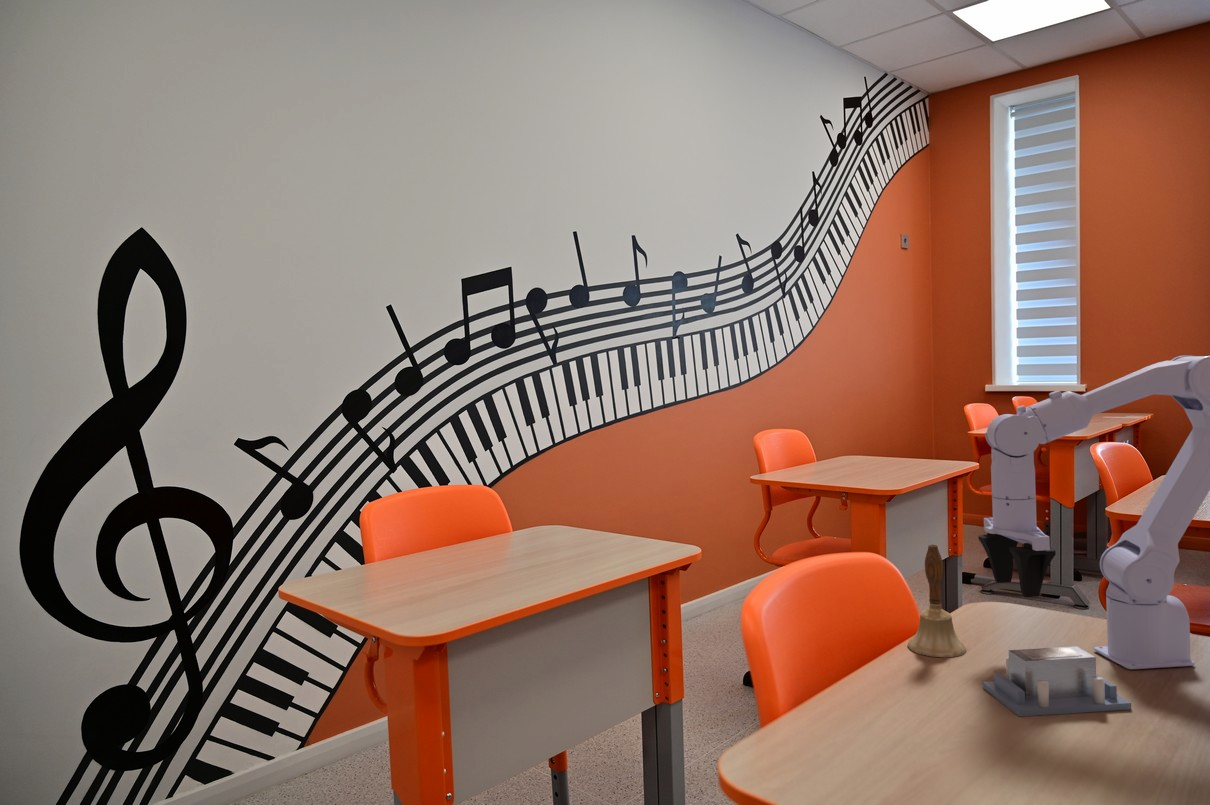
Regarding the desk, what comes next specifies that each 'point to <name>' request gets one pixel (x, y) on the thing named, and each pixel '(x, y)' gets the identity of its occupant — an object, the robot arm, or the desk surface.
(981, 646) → the desk surface
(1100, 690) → the grey peg stand
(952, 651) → the hand bell
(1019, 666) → the block
